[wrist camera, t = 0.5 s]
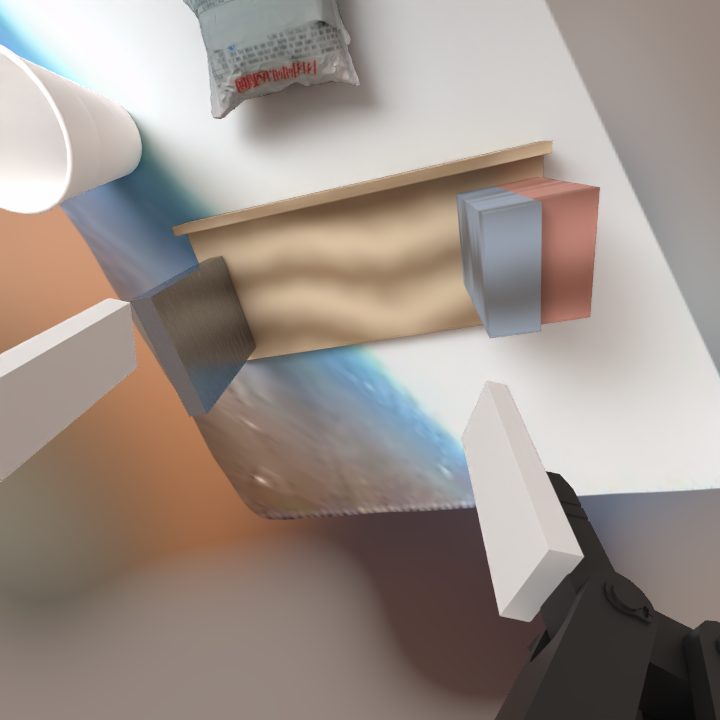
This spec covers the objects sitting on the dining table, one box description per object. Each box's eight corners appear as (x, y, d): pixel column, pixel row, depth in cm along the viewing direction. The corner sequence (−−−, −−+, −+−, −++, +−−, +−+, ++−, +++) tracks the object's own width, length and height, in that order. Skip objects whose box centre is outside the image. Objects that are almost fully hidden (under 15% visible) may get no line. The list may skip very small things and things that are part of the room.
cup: (182, 121, 32) (90, 108, 23) (144, 220, 37) (54, 243, 27) (69, 37, 30) (-84, -16, 21) (43, 153, 35) (-93, 153, 25)
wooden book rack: (187, 221, 36) (92, 253, 25) (539, 141, 31) (621, 134, 19) (242, 357, 43) (185, 430, 32) (538, 312, 38) (598, 381, 26)
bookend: (207, 258, 37) (130, 300, 26) (222, 255, 36) (150, 297, 26) (242, 349, 41) (189, 416, 31) (256, 347, 41) (207, 414, 30)
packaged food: (361, 90, 30) (357, 78, 26) (221, 121, 32) (196, 115, 27) (339, -60, 26) (331, -104, 22) (182, -17, 28) (144, -50, 23)
